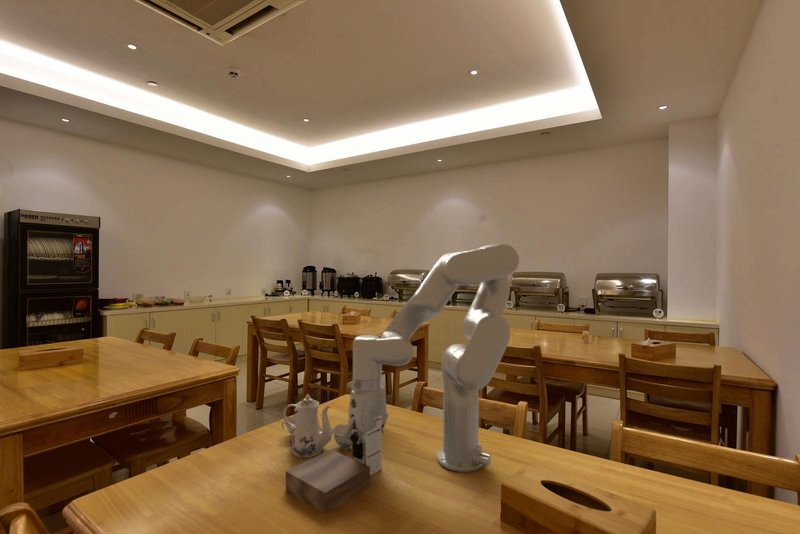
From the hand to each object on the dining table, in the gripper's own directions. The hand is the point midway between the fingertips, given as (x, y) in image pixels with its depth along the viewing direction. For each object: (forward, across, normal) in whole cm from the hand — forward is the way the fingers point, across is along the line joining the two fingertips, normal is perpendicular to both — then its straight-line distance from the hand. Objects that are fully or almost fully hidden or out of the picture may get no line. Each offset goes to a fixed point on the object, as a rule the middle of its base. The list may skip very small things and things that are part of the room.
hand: (366, 452), depth 103 cm
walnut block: (+5, -12, +1) cm, 13 cm away
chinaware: (+5, 0, +21) cm, 22 cm away
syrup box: (+5, 0, 0) cm, 5 cm away
